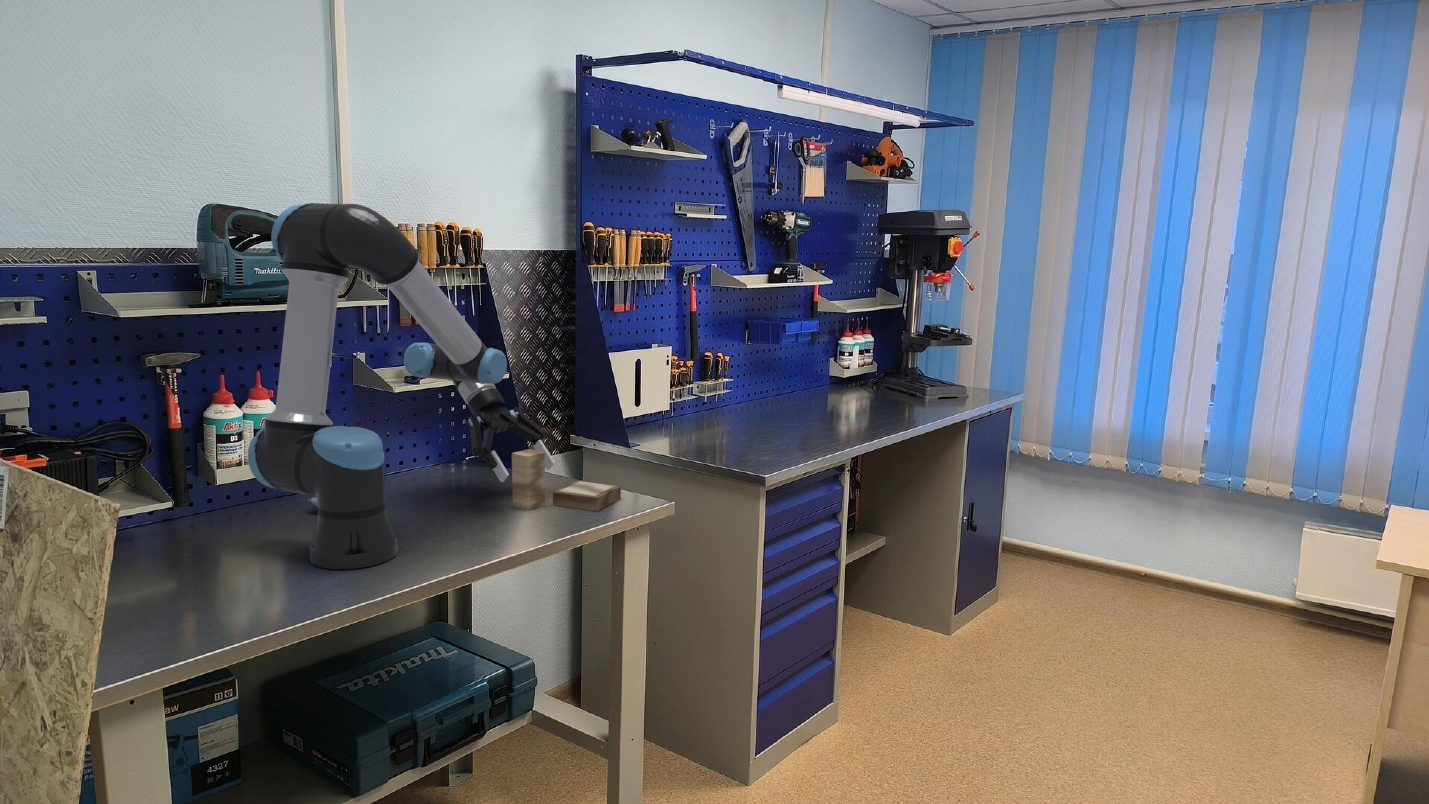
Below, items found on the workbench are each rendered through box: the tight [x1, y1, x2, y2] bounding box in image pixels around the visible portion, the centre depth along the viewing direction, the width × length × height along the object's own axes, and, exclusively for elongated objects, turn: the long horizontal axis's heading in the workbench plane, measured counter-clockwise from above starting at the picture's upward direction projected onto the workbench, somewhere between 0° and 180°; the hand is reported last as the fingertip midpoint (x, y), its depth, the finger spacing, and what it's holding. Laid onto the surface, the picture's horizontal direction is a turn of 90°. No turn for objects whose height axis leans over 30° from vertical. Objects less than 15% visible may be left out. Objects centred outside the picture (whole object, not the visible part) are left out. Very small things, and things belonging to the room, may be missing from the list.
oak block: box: [511, 448, 547, 511], centre depth 205 cm, size 5×5×12 cm
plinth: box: [552, 480, 622, 512], centre depth 210 cm, size 11×11×3 cm
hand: (528, 472), depth 206 cm, fingers open, 13 cm apart
